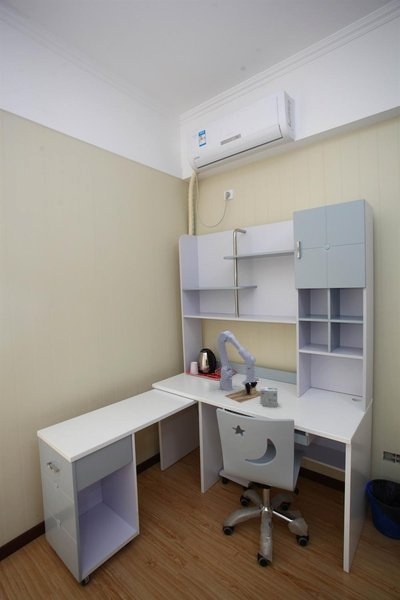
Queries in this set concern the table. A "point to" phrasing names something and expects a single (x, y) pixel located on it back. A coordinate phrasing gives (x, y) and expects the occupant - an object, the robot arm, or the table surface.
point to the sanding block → (251, 390)
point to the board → (242, 396)
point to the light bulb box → (268, 396)
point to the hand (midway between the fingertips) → (250, 392)
